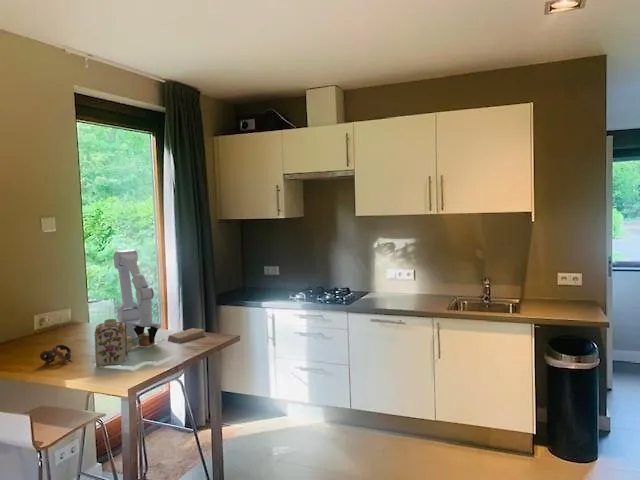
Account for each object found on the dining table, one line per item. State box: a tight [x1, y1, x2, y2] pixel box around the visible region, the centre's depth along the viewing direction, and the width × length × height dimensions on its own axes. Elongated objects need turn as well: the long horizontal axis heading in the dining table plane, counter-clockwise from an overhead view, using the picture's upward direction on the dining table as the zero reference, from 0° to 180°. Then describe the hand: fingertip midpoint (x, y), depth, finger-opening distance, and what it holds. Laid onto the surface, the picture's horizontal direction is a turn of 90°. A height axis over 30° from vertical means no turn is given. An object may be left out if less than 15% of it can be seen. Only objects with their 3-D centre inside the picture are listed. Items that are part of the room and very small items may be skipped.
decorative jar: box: [94, 318, 128, 368], centre depth 217 cm, size 12×12×18 cm
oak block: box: [127, 336, 134, 351], centre depth 232 cm, size 5×5×5 cm
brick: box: [167, 327, 206, 344], centre depth 249 cm, size 17×8×5 cm, turn 145°
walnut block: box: [137, 331, 156, 346], centre depth 238 cm, size 5×5×5 cm
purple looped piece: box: [39, 344, 72, 365], centre depth 217 cm, size 12×10×8 cm
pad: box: [155, 337, 165, 344], centre depth 245 cm, size 7×7×1 cm
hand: (146, 342), depth 238 cm, fingers closed on walnut block, 5 cm apart
